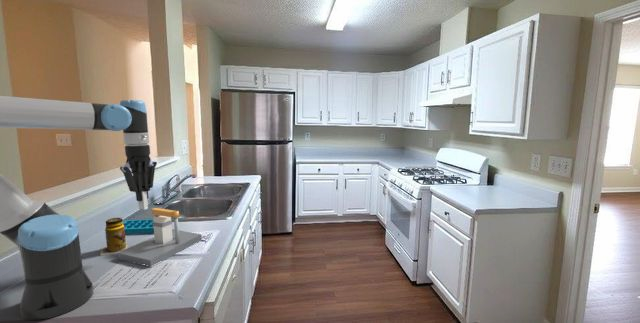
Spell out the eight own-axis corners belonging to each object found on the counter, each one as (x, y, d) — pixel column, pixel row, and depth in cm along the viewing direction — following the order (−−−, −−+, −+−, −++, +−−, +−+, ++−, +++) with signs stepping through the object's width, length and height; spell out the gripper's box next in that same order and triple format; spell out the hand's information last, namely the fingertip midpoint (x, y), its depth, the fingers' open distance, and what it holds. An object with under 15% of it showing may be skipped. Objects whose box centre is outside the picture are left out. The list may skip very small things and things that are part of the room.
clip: (177, 243, 113) (175, 213, 111) (153, 239, 117) (151, 209, 115) (182, 241, 115) (180, 211, 113) (158, 236, 119) (156, 207, 117)
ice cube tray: (126, 226, 139) (125, 220, 138) (171, 224, 142) (171, 218, 141) (112, 236, 127) (111, 229, 127) (162, 233, 130) (161, 227, 130)
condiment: (127, 250, 113) (124, 220, 112) (100, 256, 109) (96, 225, 107) (127, 243, 119) (124, 215, 118) (101, 248, 115) (97, 219, 113)
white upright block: (163, 249, 114) (161, 219, 112) (154, 247, 116) (152, 218, 114) (173, 244, 118) (171, 216, 117) (164, 242, 120) (162, 214, 118)
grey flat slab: (151, 267, 101) (150, 260, 100) (118, 259, 106) (117, 252, 106) (201, 240, 123) (201, 234, 123) (172, 234, 129) (171, 229, 128)
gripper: (127, 147, 97) (134, 215, 101) (160, 143, 110) (166, 204, 113) (111, 146, 100) (119, 213, 104) (145, 142, 112) (151, 202, 116)
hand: (143, 208), depth 109 cm, fingers closed
